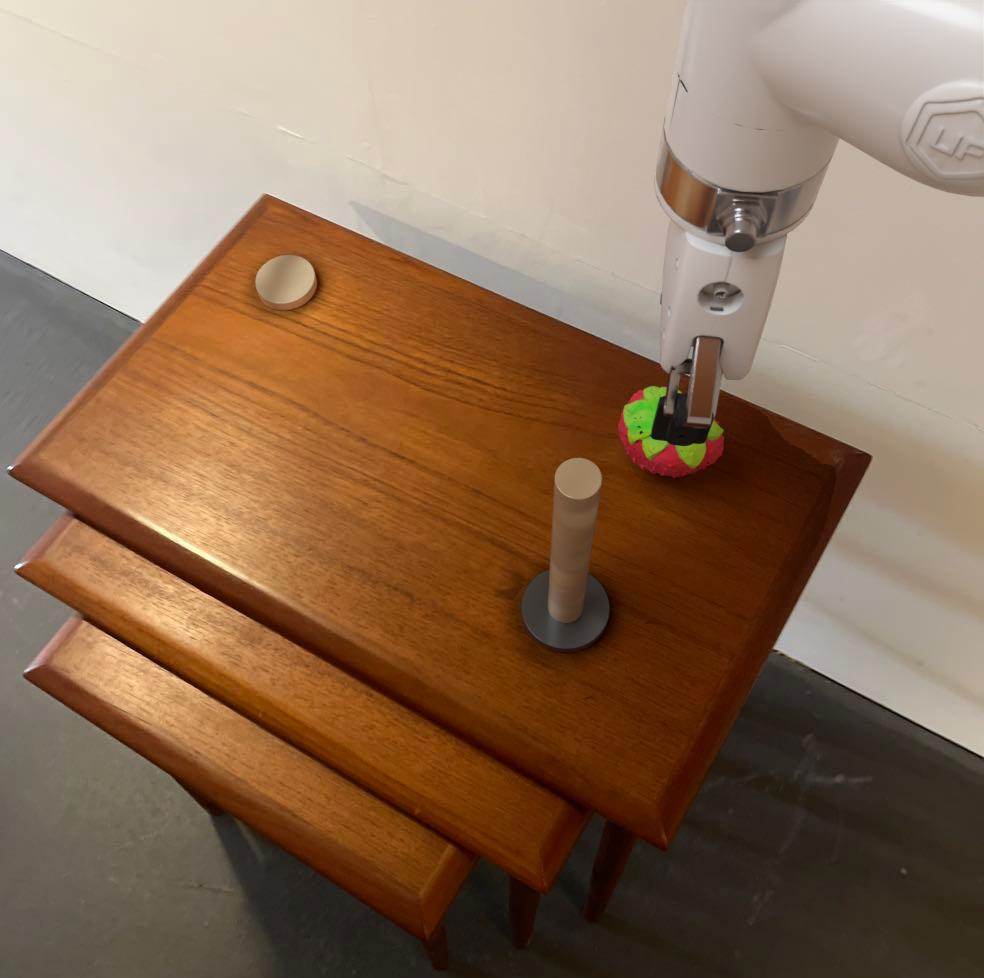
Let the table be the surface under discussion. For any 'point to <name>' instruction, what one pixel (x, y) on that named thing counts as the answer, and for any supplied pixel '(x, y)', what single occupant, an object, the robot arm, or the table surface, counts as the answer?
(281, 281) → the puck
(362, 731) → the table surface
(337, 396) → the table surface
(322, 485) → the table surface
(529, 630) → the post
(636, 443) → the strawberry
